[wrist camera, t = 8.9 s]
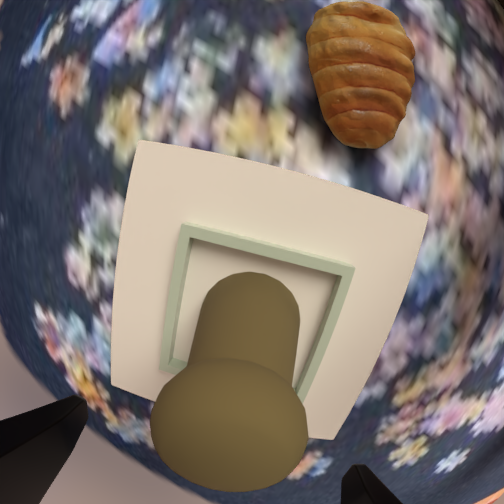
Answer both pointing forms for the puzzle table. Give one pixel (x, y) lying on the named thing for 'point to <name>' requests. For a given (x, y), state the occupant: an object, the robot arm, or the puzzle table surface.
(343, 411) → the cream flat square slab
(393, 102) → the pastry
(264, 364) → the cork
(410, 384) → the puzzle table surface
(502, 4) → the dark grey round container
